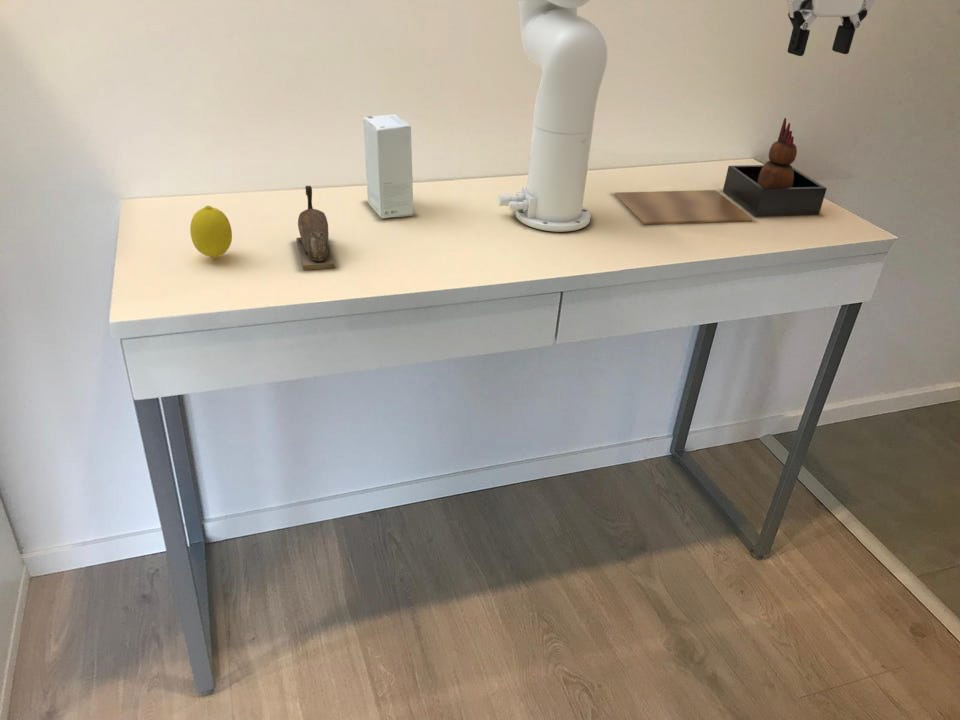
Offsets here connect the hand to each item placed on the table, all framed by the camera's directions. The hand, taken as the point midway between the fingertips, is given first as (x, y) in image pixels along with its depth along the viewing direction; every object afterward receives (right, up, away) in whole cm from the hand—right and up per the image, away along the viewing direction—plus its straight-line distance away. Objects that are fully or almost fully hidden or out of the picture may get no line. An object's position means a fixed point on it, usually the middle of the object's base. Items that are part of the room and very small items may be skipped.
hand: (817, 53), depth 131 cm
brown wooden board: (-20, -23, +11) cm, 32 cm away
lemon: (-94, -36, -17) cm, 102 cm away
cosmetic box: (-71, -25, +2) cm, 76 cm away
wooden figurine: (-3, -22, +15) cm, 27 cm away
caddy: (-3, -22, +15) cm, 27 cm away
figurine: (-81, -34, -13) cm, 89 cm away
